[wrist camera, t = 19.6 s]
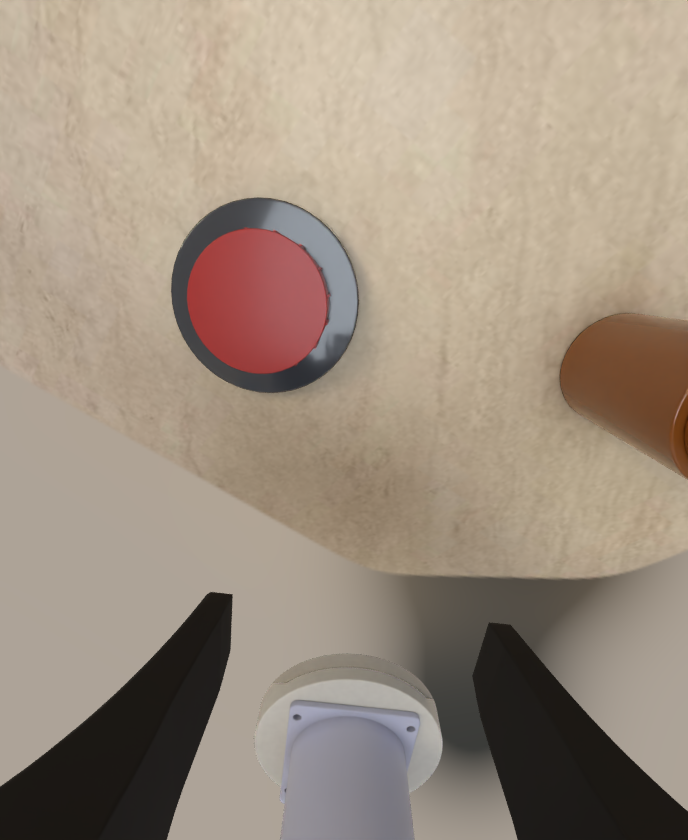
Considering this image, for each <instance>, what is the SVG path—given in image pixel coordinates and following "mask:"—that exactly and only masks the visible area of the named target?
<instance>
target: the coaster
mask: <svg viewBox="0 0 688 840" xmlns="http://www.w3.org/2000/svg"><path fill="white" fill-rule="evenodd" d="M245 227H247V228H259V229H265V230H270V231H273V230H276V231H278V232H279V233H281V235H283V236H285V237H287V238H289V239H290V240H292V241H294V242H295V243H297V244H298V245H299V244H302V245H303V246H304V247H305V248H304V249H305V250H306V251H307V252H308V253H309V254H310V255H311V256H312V257H313V259H314V260H315V262H316V263H317V264H318V266H320V267H322V270H321V271H322V273H323V276H324V278H325V281H326V284H327V288H328V294H329V293H330V294H331V296H330V297H329V313H328V319H327V320H329V323H328V325H326V326H325V328H324V331H323V333H322V335H321V337H320V339H319V341H318V342H317V343H318V345H317V347H316V349H314V348H313V350H312V351H311V352H310V353H309V354H308V355H307V356H306V357H305V358H304V359H303V360H302V361H300V362H299V363H298V364H297V365H296V366H295V365H294V366H292V367H290V368H288V369H286V370H283V371H279V372H275V373H268V374H255V373H248V372H245V371H241V370H238V369H236V368H233V367H231V366H229V365H227V364H226V363H224V362H222V361H221V360H220V359H218V358H217V357H216V356H215V355H214V354H212V353H211V352H210V351H209V350H208V348H207V347H206V346H205V345H204V344H203V342H202V341H201V339H200V338H199V336H198V335H197V333H196V331H195V329H194V327H193V324H192V321H191V318H190V314H189V310H188V302H187V289H188V282H189V278H190V274H191V271H192V269H193V266H194V264H195V262H196V260H197V259H198V257H199V256H200V254H201V253H202V252H203V251H204V249H205V248H206V247H207V246H208V245H209V244H211V243H212V242H213V241H214V240H216V239H217V238H219V237H220V236H222V235H224V234H227V233H229V232H232V231H235V230H239V229H244V228H245ZM171 293H172V304H173V309H174V314H175V318H176V321H177V324H178V327H179V329H180V331H181V334H182V336H183V338H184V340H185V341H186V343H187V345H188V346H189V348H190V349H191V351H192V352H193V353H194V354H195V356H196V357H197V358H198V359H199V360H200V361H201V362H202V363H203V364H204V365H205V366H206V367H207V368H208V369H209V370H210V371H212V372H213V373H214V374H215V375H217V376H218V377H220V378H222V379H223V380H225V381H226V382H228V383H231V384H233V385H235V386H237V387H240V388H243V389H247V390H250V391H256V392H264V393H278V392H286V391H291V390H295V389H298V388H301V387H304V386H306V385H308V384H310V383H312V382H314V381H316V380H317V379H319V378H320V377H322V376H323V375H325V374H326V373H327V372H328V371H329V370H330V369H331V368H332V367H333V366H334V365H335V364H336V363H337V362H338V360H339V359H340V358H341V356H342V355H343V353H344V352H345V350H346V349H347V347H348V345H349V343H350V341H351V339H352V336H353V333H354V330H355V327H356V321H357V316H358V305H359V299H358V287H357V282H356V276H355V273H354V270H353V267H352V264H351V262H350V259H349V257H348V255H347V253H346V251H345V249H344V248H343V246H342V245H341V243H340V241H339V240H338V239H337V237H336V236H335V235H334V234H333V233H332V231H331V230H330V229H329V228H328V227H327V226H326V225H325V224H324V223H323V222H322V221H320V220H319V219H318V218H316V217H315V216H314V215H312V214H311V213H309V212H308V211H306V210H304V209H302V208H300V207H298V206H296V205H293V204H291V203H288V202H285V201H281V200H276V199H272V198H247V199H241V200H237V201H233V202H230V203H228V204H225V205H223V206H220V207H219V208H217V209H215V210H214V211H212V212H210V213H209V214H208V215H206V216H205V217H204V218H203V219H201V220H200V221H199V222H198V223H197V224H196V225H195V227H194V228H193V229H192V230H191V231H190V233H189V234H188V236H187V237H186V239H185V240H184V242H183V244H182V246H181V248H180V250H179V252H178V255H177V258H176V261H175V264H174V269H173V274H172V286H171Z"/></svg>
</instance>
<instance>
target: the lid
mask: <svg viewBox="0 0 688 840" xmlns="http://www.w3.org/2000/svg"><path fill="white" fill-rule="evenodd" d="M304 248H305V247H304V246H303V245H302V244H299V245H298V244H297V243H295V242H294V241H292V240H290V239H289V238H287V237H285V236H283V235H281V233H279V232H278V231H276V230H273V231H270V230H265V229H259V228H247V227H245V228H244V229H239V230H235V231H232V232H229V233H227V234H224V235H222V236H220V237H219V238H217V239H216V240H214V241H213V242H212V243H211V244H209V245H208V246H207V247H206V248H205V249H204V251H203V252H202V253H201V254H200V256H199V257H198V259H197V260H196V262H195V264H194V266H193V269H192V271H191V274H190V278H189V282H188V289H187V302H188V310H189V314H190V318H191V321H192V324H193V327H194V329H195V331H196V333H197V335H198V336H199V338H200V339H201V341H202V342H203V344H204V345H205V346H206V347H207V348H208V350H209V351H210V352H211V353H212V354H214V355H215V356H216V357H217V358H218V359H220V360H221V361H222V362H224V363H226V364H227V365H229V366H231V367H233V368H236V369H238V370H241V371H245V372H248V373H255V374H268V373H275V372H279V371H283V370H286V369H288V368H290V367H292V366H294V365H295V366H296V365H297V364H298V363H299V362H300V361H302V360H303V359H304V358H305V357H306V356H307V355H308V354H309V353H310V352H311V351H312V350H313V348H314V349H316V347H317V345H318V343H317V342H318V341H319V339H320V337H321V335H322V333H323V331H324V328H325V326H326V325H328V323H329V320H327V319H328V313H329V297H330V296H331V294H330V293H329V294H328V288H327V284H326V281H325V278H324V276H323V273H322V271H321V270H322V267H320V266H318V264H317V263H316V262H315V260H314V259H313V257H312V256H311V255H310V254H309V253H308V252H307V251H306V250H305V249H304Z"/></svg>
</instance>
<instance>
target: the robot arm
mask: <svg viewBox="0 0 688 840" xmlns="http://www.w3.org/2000/svg"><path fill="white" fill-rule="evenodd" d="M231 619H232V594H224V593H215V592H210V593H209V594H207V595H206V596H205V598H204V599H203V600H202V601H201V603H200V604H199V605H198V606H197V608H196V609H195V610H194V611H193V612H192V614H191V615H190V616H189V617H188V618H187V620H186V621H185V622H184V623H183V624H182V625H181V627H180V628H179V629H178V630H177V631H176V632H175V633H174V634H173V635H172V637H171V638H170V639H169V640H168V641H167V642H166V643H165V644H164V645H163V646H162V648H161V649H160V650H159V651H158V652H157V653H156V654H155V655H154V656H153V657H152V658H151V659H150V660H149V661H148V662H147V663H146V664H145V665H144V666H143V667H142V668H141V669H140V670H139V671H138V672H137V673H136V674H135V675H134V676H133V677H132V678H131V679H130V680H129V681H128V682H127V683H126V684H125V685H124V686H123V687H122V688H121V689H120V690H119V691H118V692H117V693H116V694H114V696H112V697H111V698H110V699H109V700H108V701H107V702H106V703H105V704H104V705H102V706H101V707H100V708H99V709H98V710H97V711H96V712H95V713H93V714H92V715H91V716H90V717H89V718H88V719H87V720H85V721H84V722H83V723H82V724H81V725H79V726H78V727H77V728H76V729H75V730H73V731H72V732H71V733H70V734H68V735H67V736H66V737H65V738H64V739H62V740H61V741H60V742H59V743H58V744H56V745H55V746H54V747H53V748H51V749H50V750H49V751H48V752H46V753H45V754H44V755H42V756H41V757H40V758H39V759H37V760H36V761H35V762H33V763H32V764H31V765H29V766H28V767H27V768H25V769H24V770H23V771H21V772H20V773H19V774H17V775H16V776H14V777H13V778H12V779H10V780H9V781H7V782H6V783H5V784H3V785H2V786H1V787H0V840H167V837H168V833H169V830H170V826H171V823H172V820H173V816H174V813H175V810H176V807H177V804H178V801H179V798H180V795H181V792H182V789H183V787H184V784H185V781H186V779H187V776H188V773H189V771H190V768H191V765H192V763H193V760H194V757H195V755H196V752H197V750H198V747H199V744H200V742H201V739H202V736H203V734H204V731H205V728H206V725H207V723H208V720H209V717H210V715H211V712H212V710H213V707H214V704H215V701H216V699H217V696H218V693H219V691H220V686H221V683H222V680H223V676H224V672H225V669H226V665H227V661H228V657H229V653H230V645H231ZM473 681H474V687H475V692H476V698H477V703H478V707H479V712H480V717H481V721H482V724H483V727H484V731H485V734H486V737H487V741H488V744H489V746H490V750H491V754H492V757H493V760H494V763H495V766H496V769H497V772H498V776H499V779H500V782H501V785H502V789H503V792H504V795H505V798H506V801H507V805H508V808H509V811H510V814H511V817H512V820H513V824H514V827H515V831H516V835H517V839H518V840H688V811H687V810H685V809H684V808H683V807H682V806H681V805H680V804H679V803H677V802H676V801H675V800H674V799H673V798H672V797H671V796H670V795H669V794H667V793H666V792H665V791H664V790H663V789H662V788H661V787H660V786H659V785H658V784H657V783H656V782H654V781H653V780H652V779H651V778H650V777H649V776H648V775H647V774H646V773H645V772H644V771H643V770H642V769H641V768H640V767H639V766H638V765H637V764H635V762H634V761H632V760H631V759H630V758H629V757H628V756H627V755H626V754H625V753H624V752H623V751H622V750H621V749H620V748H619V747H618V746H617V745H616V744H615V743H614V742H613V741H612V740H611V738H610V737H609V736H608V735H607V734H606V733H605V732H604V731H603V730H602V729H601V728H600V727H599V726H598V725H597V724H596V723H595V722H594V721H593V720H592V719H591V717H589V715H588V714H587V713H586V712H585V711H584V710H583V709H582V708H581V706H579V704H578V703H577V702H576V701H575V700H574V699H573V698H572V696H570V694H569V693H568V692H567V691H566V690H565V689H564V688H563V686H562V685H561V684H560V683H559V682H558V680H557V679H556V678H555V677H554V676H553V675H552V674H551V672H550V671H549V670H548V669H547V668H546V667H545V665H544V664H543V663H542V662H541V660H539V658H538V657H537V656H536V655H535V653H534V652H533V651H532V650H531V649H530V647H529V646H528V645H527V644H526V643H525V641H524V640H523V639H522V638H521V637H520V635H519V634H518V633H517V632H516V631H515V630H514V629H513V627H512V626H511V625H507V624H498V623H489V624H488V627H487V631H486V634H485V637H484V640H483V643H482V647H481V650H480V653H479V657H478V660H477V663H476V666H475V670H474V673H473ZM419 726H420V717H419V715H418V714H417V713H415V712H410V711H400V710H391V709H381V708H371V707H362V706H352V705H343V704H333V703H323V702H314V701H304V700H295V701H293V702H292V703H291V705H290V711H289V720H288V729H287V738H286V747H285V756H284V764H283V773H282V782H281V791H280V801H281V802H282V803H284V804H285V806H284V814H283V822H282V830H281V837H280V840H414V832H413V822H412V813H411V804H410V795H409V786H408V777H407V771H408V768H409V764H410V760H411V756H412V753H413V749H414V745H415V741H416V738H417V734H418V730H419Z"/></svg>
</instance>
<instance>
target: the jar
mask: <svg viewBox="0 0 688 840" xmlns="http://www.w3.org/2000/svg"><path fill="white" fill-rule="evenodd" d="M560 384H561V389H562V393H563V395H564V398H565V400H566V401H567V403H568V404H569V406H570V407H571V408H572V409H573V410H574V411H575V412H577V413H578V414H580V415H581V416H583V417H585V418H586V419H588V420H590V421H591V422H593V423H594V424H596V425H598V426H599V427H601V428H603V429H604V430H606V431H608V432H609V433H611V434H613V435H614V436H616V437H618V438H619V439H621V440H623V441H624V442H626V443H627V444H629V445H631V446H632V447H634V448H636V449H637V450H639V451H641V452H642V453H644V454H646V455H647V456H649V457H651V458H652V459H654V460H656V461H657V462H659V463H660V464H662V465H664V466H665V467H667V468H669V469H670V470H672V471H674V472H675V473H677V474H679V475H680V476H682V477H684V478H685V479H687V480H688V320H681V319H674V318H666V317H658V316H651V315H643V314H636V313H623V314H617V315H612V316H609V317H606V318H604V319H602V320H600V321H597V322H596V323H594V324H593V325H591V326H589V327H588V328H587V329H586V330H584V331H583V332H582V333H581V334H580V335H579V336H578V337H577V338H576V339H575V341H574V342H573V343H572V345H571V346H570V348H569V349H568V351H567V353H566V355H565V357H564V360H563V363H562V367H561V373H560Z"/></svg>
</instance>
